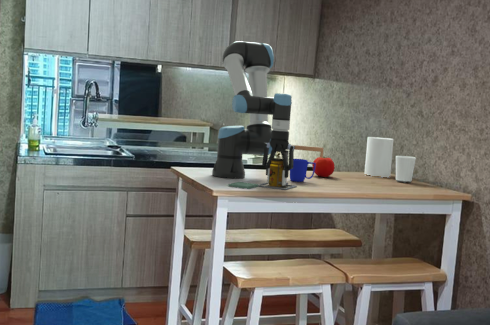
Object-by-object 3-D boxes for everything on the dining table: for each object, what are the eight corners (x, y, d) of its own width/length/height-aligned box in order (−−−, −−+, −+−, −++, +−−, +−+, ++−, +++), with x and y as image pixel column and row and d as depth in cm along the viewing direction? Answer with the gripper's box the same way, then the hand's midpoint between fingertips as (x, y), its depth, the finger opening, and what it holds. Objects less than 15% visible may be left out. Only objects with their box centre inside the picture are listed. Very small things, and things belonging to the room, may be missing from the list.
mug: (313, 183, 303) (315, 161, 302) (286, 181, 305) (288, 159, 304) (315, 181, 311) (316, 160, 310) (289, 179, 313) (291, 158, 312)
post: (278, 184, 292) (281, 150, 291) (281, 183, 296) (284, 149, 294) (286, 185, 291) (288, 151, 289) (289, 184, 294) (291, 150, 293)
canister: (370, 177, 347) (374, 138, 345) (360, 173, 360) (363, 136, 358) (394, 177, 350) (398, 139, 348) (383, 174, 363) (386, 137, 361)
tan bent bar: (322, 157, 286) (322, 147, 286) (281, 154, 290) (282, 143, 290) (323, 157, 290) (323, 146, 289) (282, 153, 294) (283, 143, 294)
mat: (228, 186, 275) (228, 183, 275) (238, 184, 285) (238, 181, 284) (248, 188, 272) (248, 186, 272) (257, 186, 281) (258, 184, 281)
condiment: (264, 185, 285) (266, 157, 283) (277, 184, 291) (279, 157, 289) (276, 188, 279) (278, 159, 278) (290, 187, 285) (292, 159, 284)
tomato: (334, 176, 339) (336, 156, 338) (333, 179, 327) (335, 158, 326) (312, 174, 341) (314, 154, 340) (310, 177, 328) (312, 156, 327)
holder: (255, 186, 282) (255, 185, 282) (267, 183, 294) (267, 182, 294) (285, 190, 276) (285, 188, 276) (296, 186, 288) (296, 185, 288)
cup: (398, 180, 340) (400, 155, 339) (416, 182, 335) (419, 157, 333) (390, 181, 332) (392, 156, 331) (409, 184, 326) (411, 158, 325)
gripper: (256, 128, 283) (252, 182, 285) (298, 132, 275) (294, 187, 278) (263, 128, 290) (259, 180, 292) (304, 131, 282) (300, 186, 285)
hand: (276, 184), depth 285 cm, fingers closed on condiment, 6 cm apart
